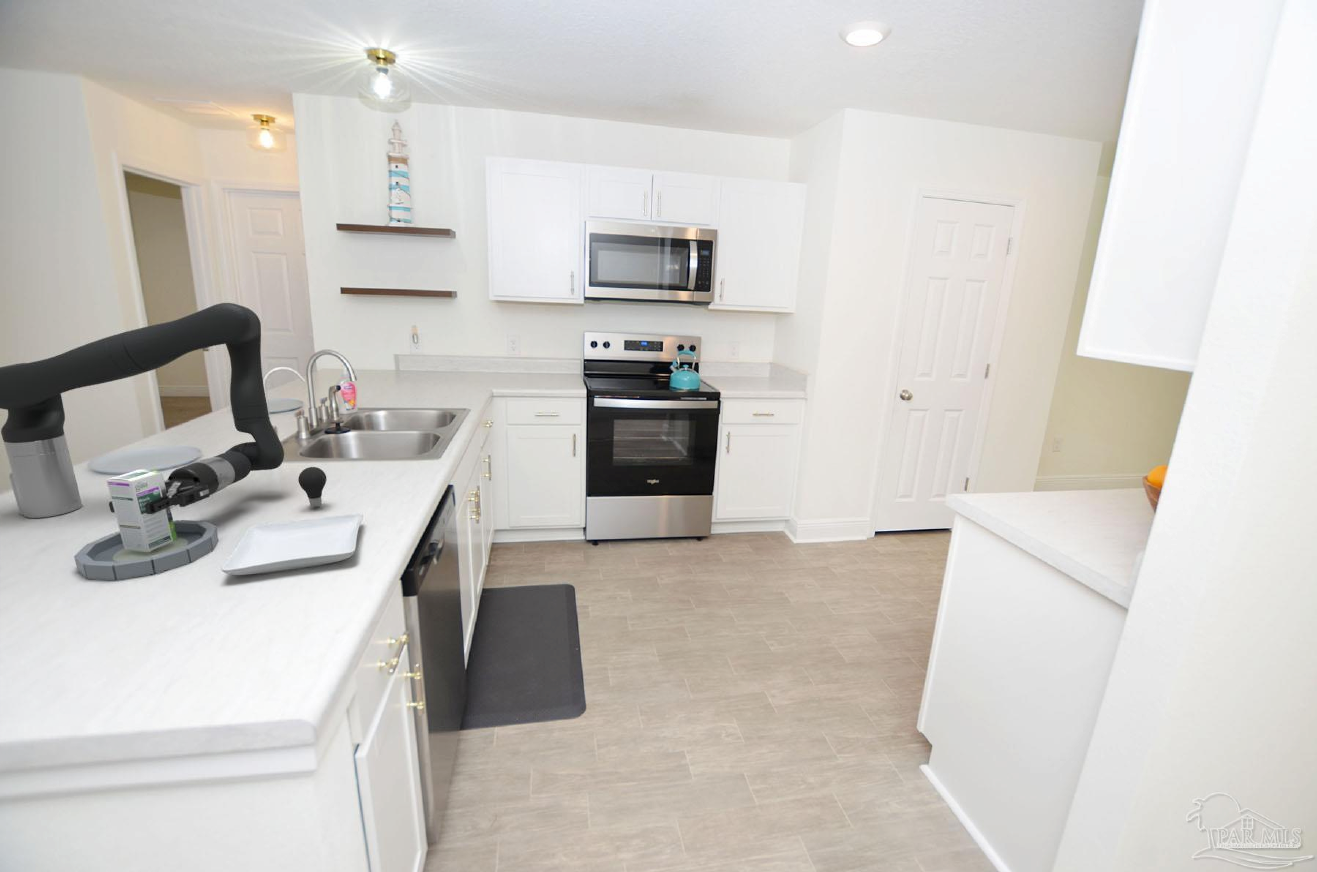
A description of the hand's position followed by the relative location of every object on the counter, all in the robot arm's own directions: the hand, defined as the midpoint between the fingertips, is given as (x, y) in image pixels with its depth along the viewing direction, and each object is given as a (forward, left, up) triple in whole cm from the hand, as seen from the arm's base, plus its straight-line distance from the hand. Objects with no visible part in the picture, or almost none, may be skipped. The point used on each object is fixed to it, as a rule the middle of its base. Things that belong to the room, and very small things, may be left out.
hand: (129, 508), depth 106 cm
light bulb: (+16, +28, -11) cm, 34 cm away
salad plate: (+27, +6, -11) cm, 30 cm away
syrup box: (0, +2, -9) cm, 9 cm away
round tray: (0, +2, -10) cm, 11 cm away
